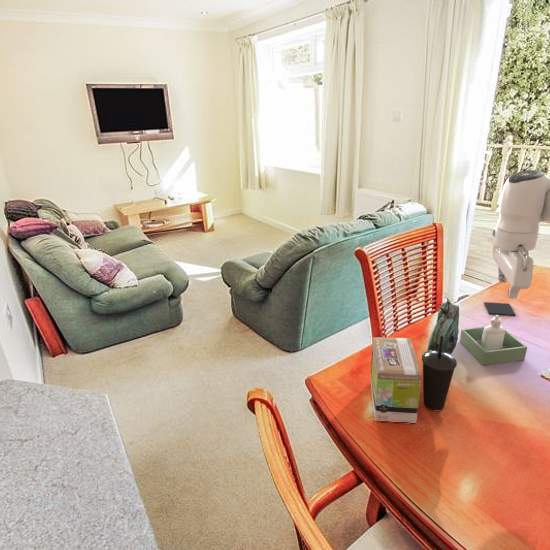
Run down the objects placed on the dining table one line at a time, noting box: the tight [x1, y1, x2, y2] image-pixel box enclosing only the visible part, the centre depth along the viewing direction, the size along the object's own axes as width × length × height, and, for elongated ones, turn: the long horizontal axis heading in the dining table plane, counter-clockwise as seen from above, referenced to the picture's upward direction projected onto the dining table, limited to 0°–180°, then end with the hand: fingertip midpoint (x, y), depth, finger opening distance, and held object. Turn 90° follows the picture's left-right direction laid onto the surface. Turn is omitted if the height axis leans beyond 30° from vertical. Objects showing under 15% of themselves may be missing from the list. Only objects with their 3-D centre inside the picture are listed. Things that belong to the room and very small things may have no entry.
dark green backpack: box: [426, 298, 460, 355], centre depth 102 cm, size 20×6×20 cm, turn 146°
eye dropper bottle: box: [480, 315, 506, 351], centre depth 109 cm, size 4×6×12 cm
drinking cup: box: [421, 336, 458, 411], centre depth 90 cm, size 8×8×20 cm
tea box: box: [370, 336, 423, 424], centre depth 93 cm, size 15×10×15 cm, turn 171°
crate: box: [459, 325, 528, 366], centre depth 110 cm, size 12×12×4 cm
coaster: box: [483, 301, 516, 317], centre depth 131 cm, size 8×8×1 cm
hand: (506, 288), depth 98 cm, fingers open, 8 cm apart
